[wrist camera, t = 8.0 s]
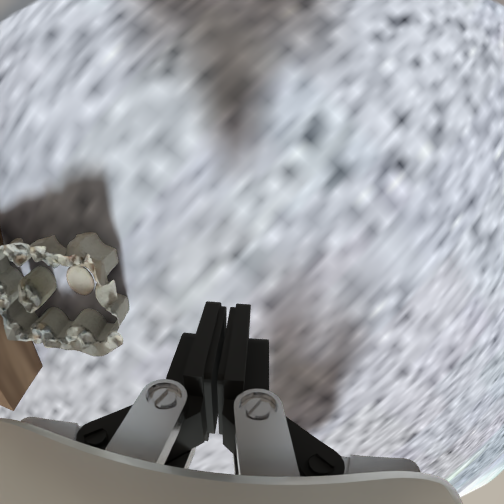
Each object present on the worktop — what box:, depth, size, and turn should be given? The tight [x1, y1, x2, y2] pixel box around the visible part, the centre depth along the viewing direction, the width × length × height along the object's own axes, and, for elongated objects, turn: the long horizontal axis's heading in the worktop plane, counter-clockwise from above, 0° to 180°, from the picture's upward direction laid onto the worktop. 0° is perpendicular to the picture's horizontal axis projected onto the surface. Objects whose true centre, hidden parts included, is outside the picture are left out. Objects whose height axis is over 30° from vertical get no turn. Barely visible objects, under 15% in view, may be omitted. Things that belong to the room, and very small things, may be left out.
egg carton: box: [0, 232, 129, 356], centre depth 17 cm, size 11×8×4 cm
